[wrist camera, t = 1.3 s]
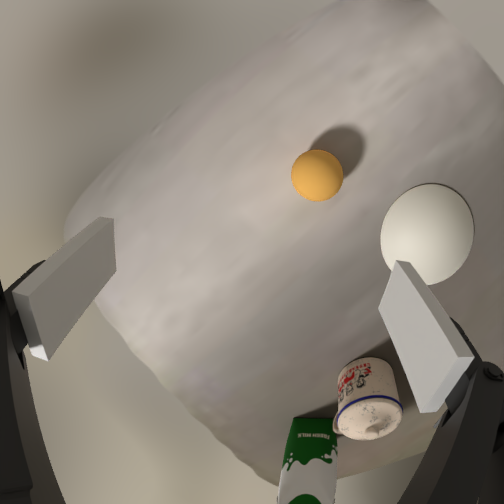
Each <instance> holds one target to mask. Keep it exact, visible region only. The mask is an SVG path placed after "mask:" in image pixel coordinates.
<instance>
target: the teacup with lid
mask: <svg viewBox="0 0 504 504" xmlns="http://www.w3.org/2000/svg"><path fill="white" fill-rule="evenodd" d="M402 416H403V408H402V405H401V404H400V402H399V397H398V392H397V387H396V383H395V378H394V374H393V370H392V368H391V366H390V365H389V364H388V363H387V362H386V361H384V360H382V359H379V358H373V357H367V358H361V359H358V360H355V361H353V362H351V363H350V364H348V365H347V366H346V367H345V368H344V369H343V370H342V371H341V373H340V375H339V377H338V412H337V414H336V416H335V418H334V421H333V431H334V432H335V433H337V434H344V435H345V436H347V437H349V438H352V439H356V440H373V439H376V438H380V437H382V436H385V435H387V434H388V433H390V432H392V431H393V430H394V429H395V428H396V427H397V426H398V425H399V423H400V421H401V419H402Z"/></svg>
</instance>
